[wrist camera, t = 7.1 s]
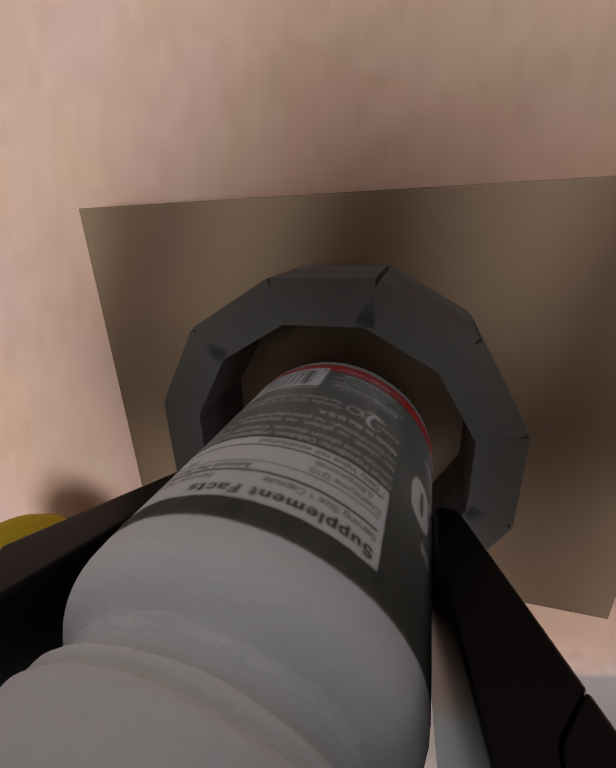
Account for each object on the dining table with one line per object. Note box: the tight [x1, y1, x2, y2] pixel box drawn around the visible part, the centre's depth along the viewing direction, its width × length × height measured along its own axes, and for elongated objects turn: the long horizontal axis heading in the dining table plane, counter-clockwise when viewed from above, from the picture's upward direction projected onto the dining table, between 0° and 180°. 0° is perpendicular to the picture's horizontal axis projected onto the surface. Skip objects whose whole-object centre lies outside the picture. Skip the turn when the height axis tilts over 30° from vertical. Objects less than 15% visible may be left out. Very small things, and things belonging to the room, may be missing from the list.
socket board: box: [79, 176, 616, 619], centre depth 11 cm, size 16×12×4 cm
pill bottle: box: [0, 362, 433, 768], centre depth 7 cm, size 5×5×8 cm
